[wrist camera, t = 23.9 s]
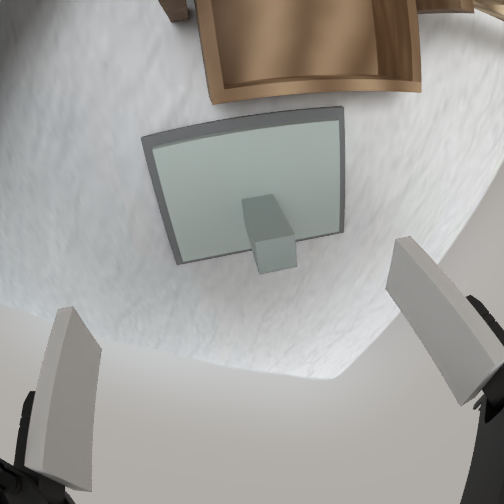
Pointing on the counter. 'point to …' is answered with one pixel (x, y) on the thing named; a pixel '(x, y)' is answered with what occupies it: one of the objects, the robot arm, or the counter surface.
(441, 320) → the robot arm
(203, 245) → the lid
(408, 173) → the counter surface
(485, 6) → the key
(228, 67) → the wooden rack
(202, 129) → the mat
